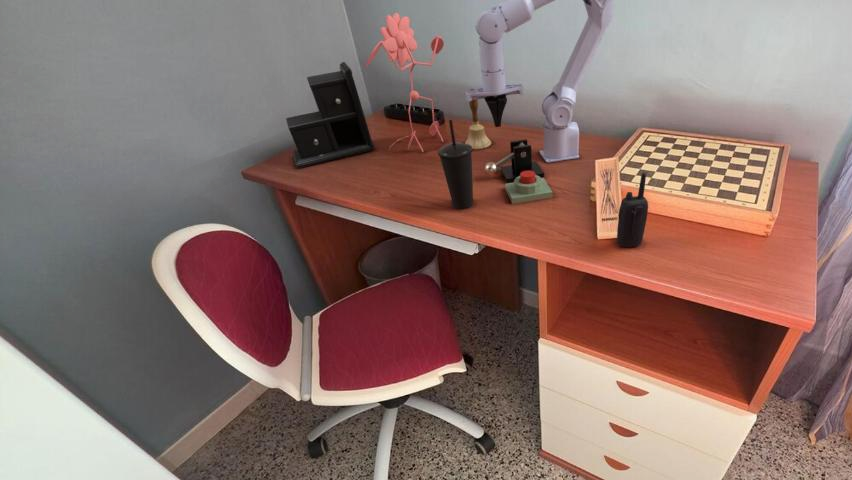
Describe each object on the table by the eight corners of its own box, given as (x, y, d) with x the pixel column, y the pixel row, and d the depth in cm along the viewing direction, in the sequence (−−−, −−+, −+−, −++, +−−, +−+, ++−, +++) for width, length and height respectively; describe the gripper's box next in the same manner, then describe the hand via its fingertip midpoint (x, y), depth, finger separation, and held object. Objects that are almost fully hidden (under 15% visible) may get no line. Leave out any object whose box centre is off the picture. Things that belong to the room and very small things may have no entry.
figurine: (462, 133, 139) (445, 6, 116) (405, 163, 123) (373, 23, 101) (428, 126, 146) (406, 5, 123) (370, 153, 130) (333, 20, 108)
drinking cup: (466, 215, 98) (453, 128, 85) (441, 208, 101) (424, 123, 89) (485, 201, 103) (475, 116, 90) (460, 194, 106) (447, 112, 93)
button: (533, 177, 104) (533, 169, 103) (537, 183, 101) (536, 175, 100) (519, 179, 104) (518, 171, 102) (522, 186, 101) (522, 178, 100)
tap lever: (490, 181, 110) (482, 170, 108) (487, 175, 113) (480, 164, 111) (530, 155, 108) (523, 144, 106) (526, 150, 111) (520, 139, 109)
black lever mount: (506, 183, 109) (504, 152, 104) (500, 170, 115) (498, 140, 110) (544, 177, 110) (543, 146, 105) (536, 165, 117) (535, 135, 111)
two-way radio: (639, 237, 87) (650, 168, 77) (647, 249, 84) (660, 178, 74) (613, 240, 87) (620, 171, 77) (620, 253, 83) (629, 182, 73)
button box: (543, 183, 108) (543, 170, 106) (552, 197, 102) (552, 184, 100) (505, 189, 107) (504, 176, 105) (512, 204, 101) (511, 190, 99)
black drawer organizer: (296, 169, 125) (261, 83, 110) (293, 157, 132) (260, 75, 117) (375, 151, 132) (352, 68, 117) (368, 140, 139) (346, 61, 124)
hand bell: (496, 141, 132) (491, 86, 121) (481, 151, 126) (474, 94, 116) (475, 137, 135) (468, 84, 125) (459, 147, 130) (451, 91, 120)
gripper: (518, 62, 108) (520, 117, 116) (461, 69, 106) (468, 124, 115) (524, 68, 102) (526, 125, 111) (465, 76, 101) (472, 133, 109)
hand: (497, 125), depth 112 cm, fingers closed
